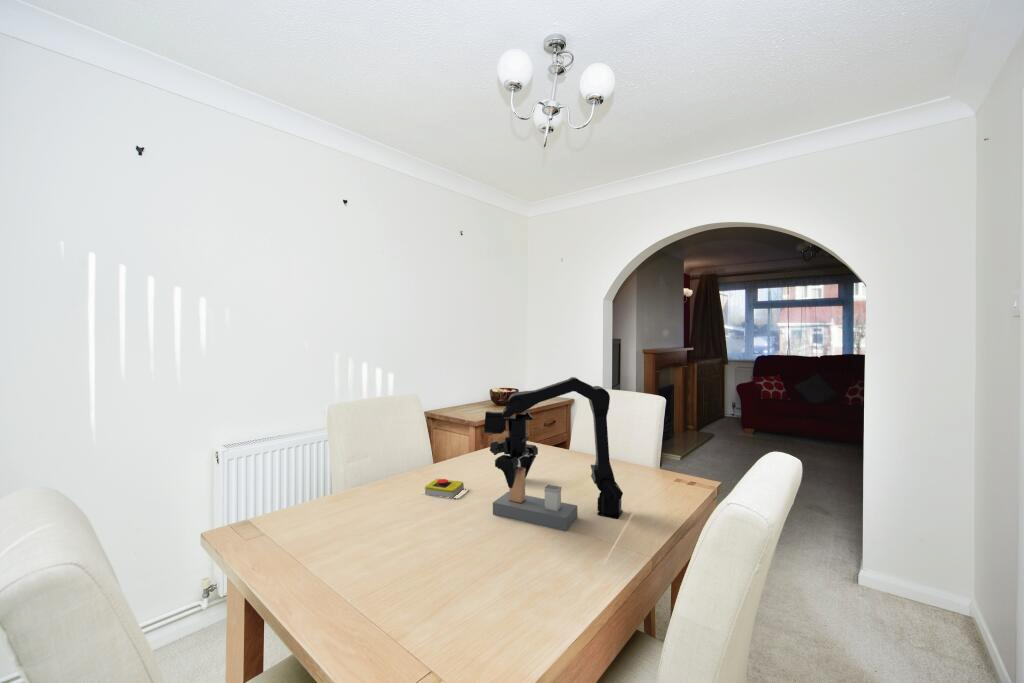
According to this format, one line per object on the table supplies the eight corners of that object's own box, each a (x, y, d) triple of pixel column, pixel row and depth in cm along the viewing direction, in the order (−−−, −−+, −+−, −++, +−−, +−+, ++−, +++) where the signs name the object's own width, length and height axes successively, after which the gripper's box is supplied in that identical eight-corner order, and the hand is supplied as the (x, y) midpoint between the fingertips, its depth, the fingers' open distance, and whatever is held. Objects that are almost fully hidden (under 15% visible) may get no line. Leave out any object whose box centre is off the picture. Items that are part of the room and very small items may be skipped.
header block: (577, 518, 133) (577, 505, 133) (565, 532, 124) (565, 518, 124) (507, 503, 144) (507, 491, 144) (492, 515, 135) (492, 502, 135)
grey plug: (561, 519, 132) (561, 486, 131) (557, 523, 129) (557, 490, 129) (548, 516, 134) (548, 484, 133) (544, 520, 131) (544, 487, 130)
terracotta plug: (525, 499, 137) (525, 468, 137) (521, 503, 134) (521, 470, 134) (513, 497, 139) (513, 466, 139) (509, 500, 136) (509, 468, 136)
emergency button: (433, 474, 161) (470, 479, 156) (433, 486, 161) (470, 491, 156) (419, 482, 152) (458, 488, 147) (419, 495, 152) (458, 501, 148)
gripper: (508, 425, 148) (508, 470, 148) (479, 437, 131) (479, 488, 132) (538, 428, 143) (538, 475, 143) (512, 441, 126) (512, 495, 127)
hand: (517, 483), depth 136 cm, fingers open, 9 cm apart
